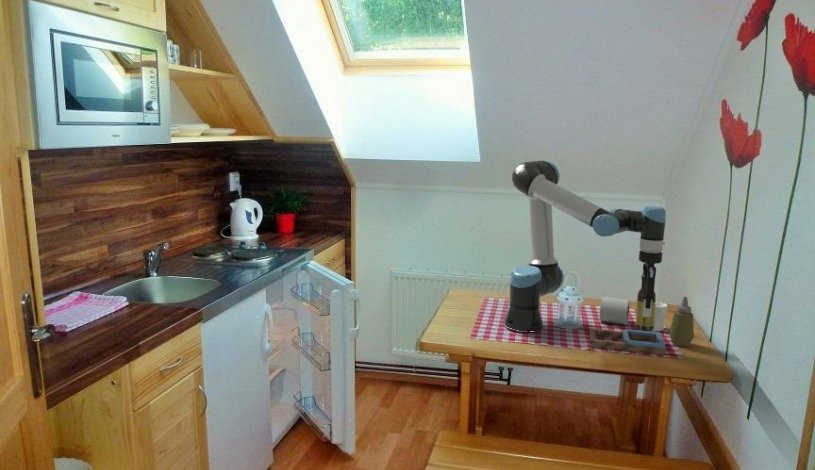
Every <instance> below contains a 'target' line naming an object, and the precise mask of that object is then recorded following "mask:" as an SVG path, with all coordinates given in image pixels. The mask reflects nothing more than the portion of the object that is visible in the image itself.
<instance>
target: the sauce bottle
mask: <svg viewBox="0 0 815 470" xmlns="http://www.w3.org/2000/svg"><path fill="white" fill-rule="evenodd" d="M645 282H646V280H645V279H644V275H643V274H642V275H641V285H640V286H641V288H640V289H639V290H638V292H637V299H636V313H635V314H636V316H635V324H636V325H635V328H636V330H638V331H648V332H653V331H652V330H654V322H655V304H656V300H657V299H656V298H657V296H656V292H655V291H654V299H652V311H651V317H643V304H644V299H643V297H645Z"/></svg>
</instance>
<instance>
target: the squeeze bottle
mask: <svg viewBox="0 0 815 470" xmlns="http://www.w3.org/2000/svg"><path fill="white" fill-rule="evenodd" d="M670 324H671V325H670V330H669V337H670V340H671V343H672V344H673V345H674V346H677V347H682V348H683V347H684V348H685V347H689V346H690V345H691V342H693V339H694V334H695V333H694V313H692V306H690V305H689V301H688V297H687V296H683V298H682V300H681V303H680V304H678V305H677V308H676V310H675V311H674V312H673V316H672V320H671V323H670Z"/></svg>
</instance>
